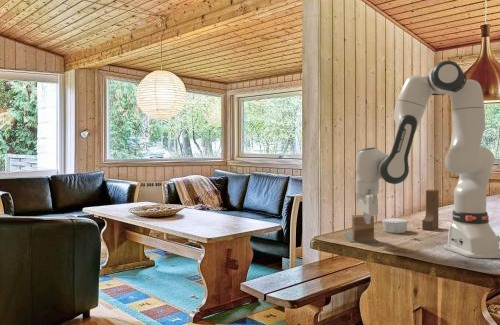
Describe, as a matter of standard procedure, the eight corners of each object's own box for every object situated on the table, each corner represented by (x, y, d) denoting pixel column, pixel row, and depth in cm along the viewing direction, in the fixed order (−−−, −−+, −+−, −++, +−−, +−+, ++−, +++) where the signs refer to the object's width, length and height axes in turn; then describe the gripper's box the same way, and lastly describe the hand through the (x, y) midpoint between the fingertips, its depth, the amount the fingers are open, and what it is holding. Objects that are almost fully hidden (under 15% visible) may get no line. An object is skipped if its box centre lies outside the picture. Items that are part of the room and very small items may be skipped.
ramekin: (391, 234, 199) (391, 222, 199) (377, 230, 210) (377, 218, 209) (413, 233, 202) (413, 221, 202) (398, 228, 213) (398, 217, 212)
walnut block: (373, 240, 185) (373, 216, 185) (354, 240, 185) (354, 216, 185) (371, 238, 189) (371, 214, 189) (352, 238, 189) (352, 215, 189)
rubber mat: (378, 242, 184) (378, 241, 184) (351, 242, 184) (351, 241, 184) (368, 234, 200) (368, 233, 200) (343, 234, 200) (343, 233, 200)
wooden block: (431, 230, 206) (432, 191, 205) (421, 229, 209) (422, 191, 208) (438, 227, 212) (438, 189, 212) (428, 226, 215) (429, 189, 215)
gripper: (382, 191, 168) (382, 228, 169) (368, 186, 189) (368, 218, 189) (365, 191, 168) (365, 228, 169) (353, 186, 189) (353, 219, 189)
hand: (367, 223), depth 179 cm, fingers closed
